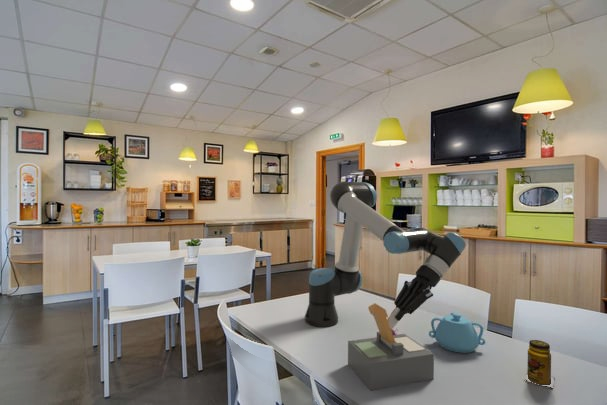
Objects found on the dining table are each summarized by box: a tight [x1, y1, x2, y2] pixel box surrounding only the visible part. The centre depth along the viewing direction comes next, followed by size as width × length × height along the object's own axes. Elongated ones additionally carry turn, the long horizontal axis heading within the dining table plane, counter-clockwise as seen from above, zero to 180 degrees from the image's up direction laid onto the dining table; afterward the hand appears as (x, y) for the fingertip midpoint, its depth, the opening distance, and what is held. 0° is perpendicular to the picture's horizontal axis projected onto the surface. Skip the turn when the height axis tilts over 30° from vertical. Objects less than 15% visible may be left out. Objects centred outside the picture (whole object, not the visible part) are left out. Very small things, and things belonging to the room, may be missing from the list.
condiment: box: [524, 339, 552, 389], centre depth 105 cm, size 7×8×12 cm
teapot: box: [428, 312, 486, 354], centre depth 130 cm, size 20×20×13 cm
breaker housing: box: [347, 331, 435, 391], centre depth 110 cm, size 22×16×11 cm
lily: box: [386, 316, 399, 335], centre depth 131 cm, size 12×12×10 cm
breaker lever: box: [367, 303, 396, 349], centre depth 109 cm, size 3×7×14 cm, turn 17°
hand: (388, 325), depth 109 cm, fingers closed
